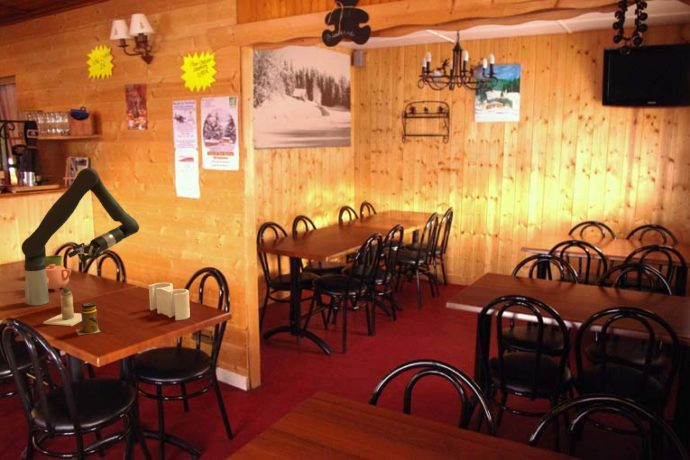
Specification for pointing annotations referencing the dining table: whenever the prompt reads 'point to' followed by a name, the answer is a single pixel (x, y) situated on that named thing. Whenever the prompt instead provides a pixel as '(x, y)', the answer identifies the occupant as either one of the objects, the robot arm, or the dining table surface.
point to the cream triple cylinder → (169, 300)
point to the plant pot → (53, 260)
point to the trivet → (60, 321)
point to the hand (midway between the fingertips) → (75, 258)
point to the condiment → (88, 319)
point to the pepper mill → (67, 304)
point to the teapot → (57, 277)
